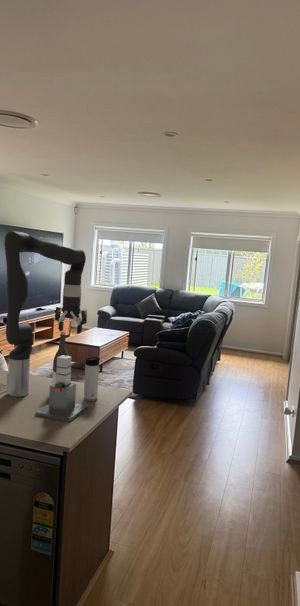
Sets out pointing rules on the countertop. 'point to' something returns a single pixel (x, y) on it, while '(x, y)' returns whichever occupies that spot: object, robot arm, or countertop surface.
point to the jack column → (63, 370)
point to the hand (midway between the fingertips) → (69, 332)
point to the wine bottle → (59, 354)
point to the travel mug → (91, 379)
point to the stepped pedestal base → (62, 403)
